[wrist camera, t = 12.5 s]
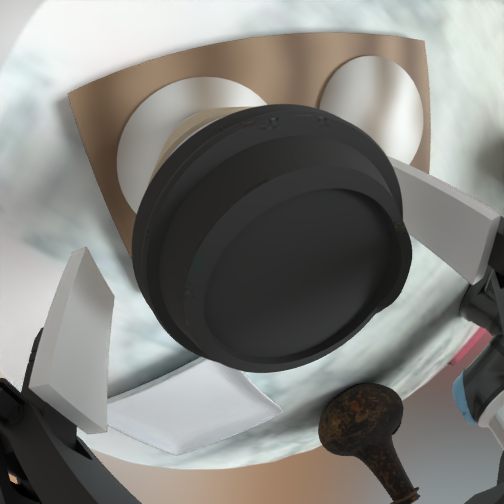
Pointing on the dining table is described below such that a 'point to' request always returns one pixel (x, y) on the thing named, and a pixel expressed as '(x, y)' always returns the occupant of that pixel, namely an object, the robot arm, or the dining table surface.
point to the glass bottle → (369, 434)
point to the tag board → (251, 100)
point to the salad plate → (191, 407)
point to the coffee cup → (269, 235)
